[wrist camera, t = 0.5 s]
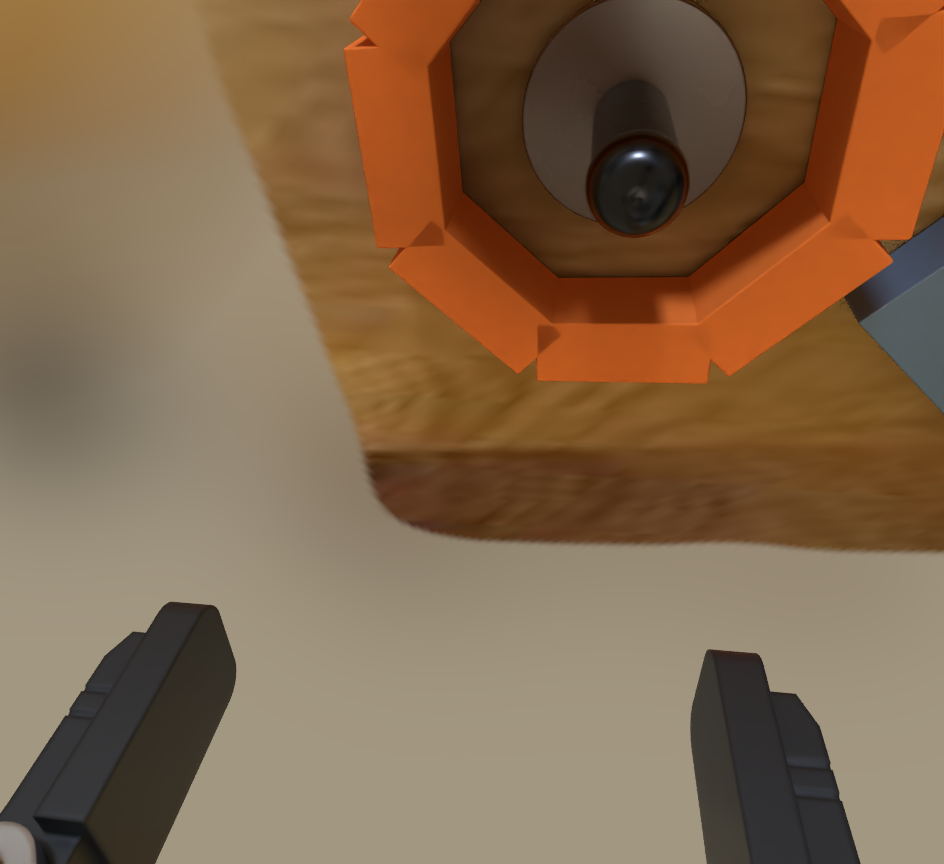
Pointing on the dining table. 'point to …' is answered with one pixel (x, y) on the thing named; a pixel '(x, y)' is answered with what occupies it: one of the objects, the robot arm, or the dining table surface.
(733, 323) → the ring
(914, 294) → the grey flat slab
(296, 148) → the dining table surface
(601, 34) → the peg stand
